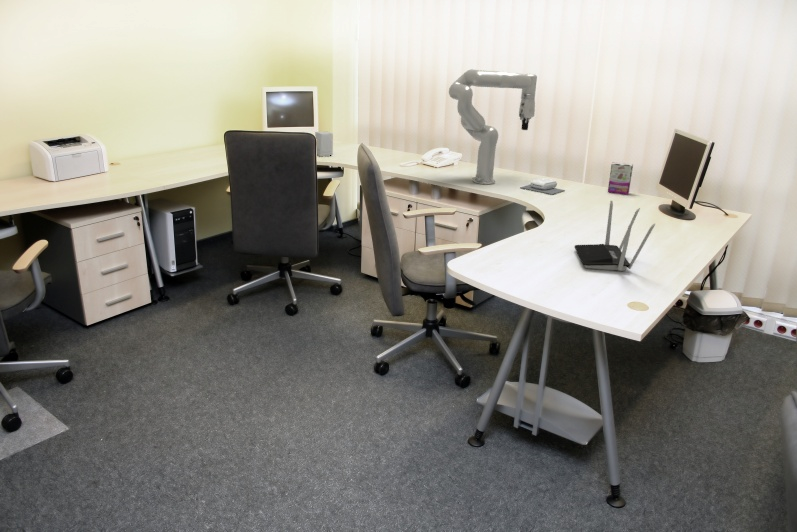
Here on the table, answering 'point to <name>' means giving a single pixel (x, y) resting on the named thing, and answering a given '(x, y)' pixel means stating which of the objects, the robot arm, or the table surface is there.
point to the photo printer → (543, 183)
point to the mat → (547, 191)
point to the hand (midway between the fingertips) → (524, 129)
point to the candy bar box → (620, 178)
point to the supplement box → (324, 143)
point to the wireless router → (609, 250)
